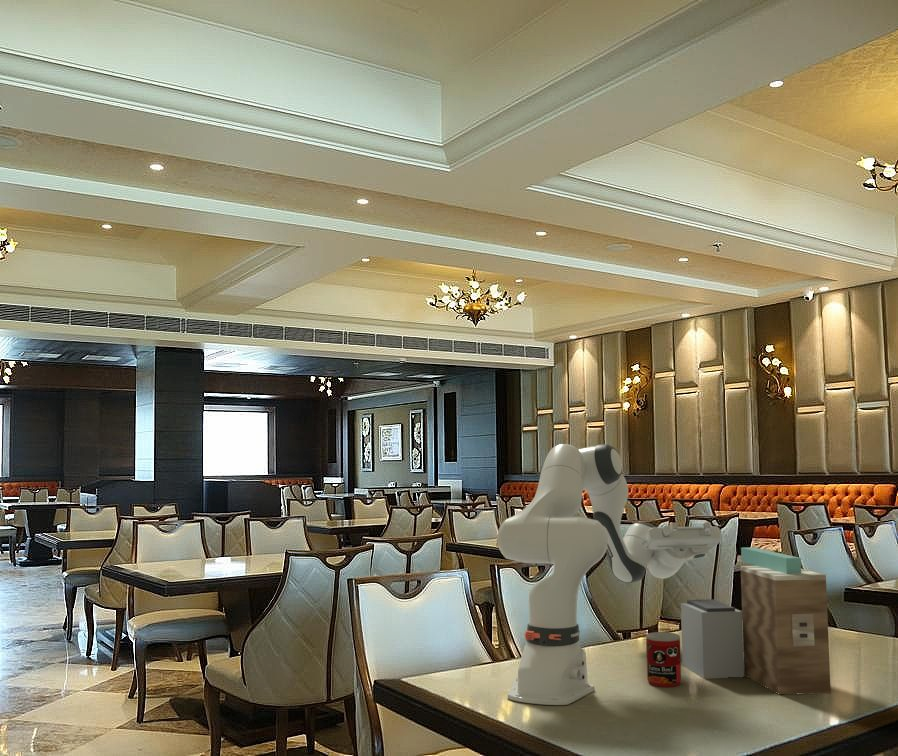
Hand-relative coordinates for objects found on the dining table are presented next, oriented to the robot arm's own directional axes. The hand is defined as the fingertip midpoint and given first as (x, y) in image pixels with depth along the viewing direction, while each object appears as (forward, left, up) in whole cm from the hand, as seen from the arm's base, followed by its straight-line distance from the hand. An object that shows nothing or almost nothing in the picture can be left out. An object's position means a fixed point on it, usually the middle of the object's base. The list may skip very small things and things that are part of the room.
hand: (691, 524), depth 239 cm
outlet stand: (-22, -23, -34) cm, 47 cm away
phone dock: (-16, -6, -34) cm, 38 cm away
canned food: (-32, +3, -35) cm, 47 cm away
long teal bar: (-17, -20, -8) cm, 28 cm away
